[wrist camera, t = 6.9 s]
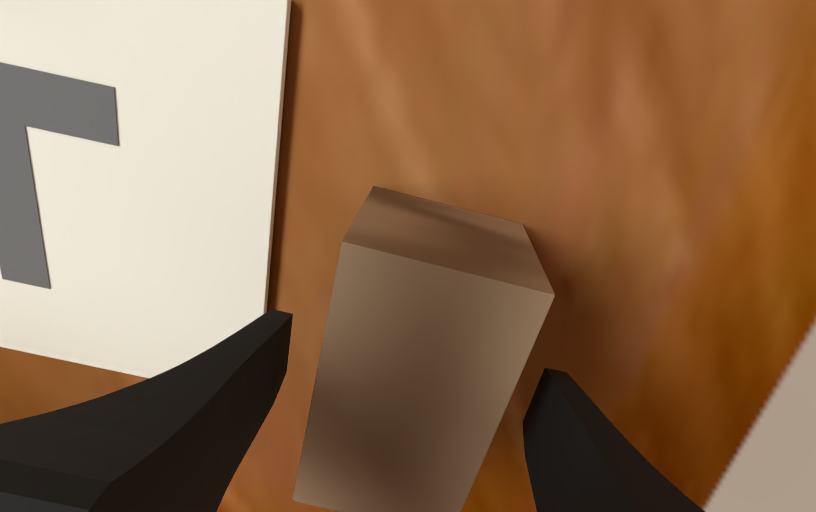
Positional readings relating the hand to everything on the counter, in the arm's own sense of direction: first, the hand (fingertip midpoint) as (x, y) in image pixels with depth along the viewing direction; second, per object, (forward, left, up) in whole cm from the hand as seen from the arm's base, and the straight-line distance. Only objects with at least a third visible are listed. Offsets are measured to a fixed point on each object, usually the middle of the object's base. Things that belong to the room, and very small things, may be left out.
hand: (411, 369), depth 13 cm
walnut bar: (0, 0, -3) cm, 3 cm away
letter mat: (-13, +2, -2) cm, 13 cm away
